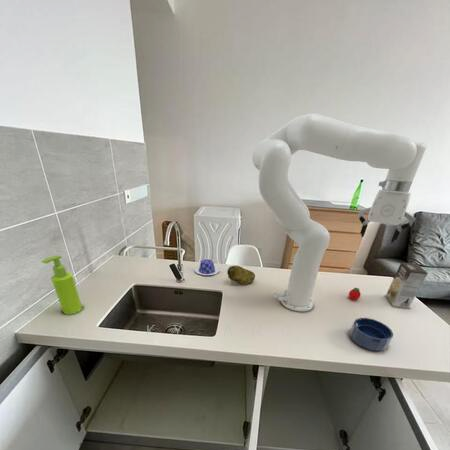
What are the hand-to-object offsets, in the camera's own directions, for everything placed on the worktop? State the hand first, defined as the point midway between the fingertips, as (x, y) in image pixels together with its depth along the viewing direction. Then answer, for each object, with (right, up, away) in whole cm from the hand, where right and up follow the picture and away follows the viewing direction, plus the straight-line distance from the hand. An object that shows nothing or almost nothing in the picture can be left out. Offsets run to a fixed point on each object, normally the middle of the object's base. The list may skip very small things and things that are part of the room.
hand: (377, 238), depth 88 cm
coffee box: (+17, -23, +15) cm, 33 cm away
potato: (-48, -14, +23) cm, 55 cm away
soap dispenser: (-109, -26, -2) cm, 113 cm away
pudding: (-64, -8, +31) cm, 72 cm away
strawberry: (-1, -22, +15) cm, 27 cm away
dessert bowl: (-8, -35, -8) cm, 37 cm away
